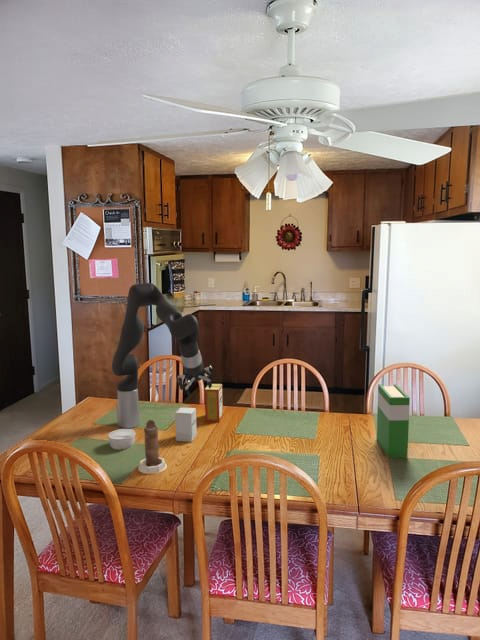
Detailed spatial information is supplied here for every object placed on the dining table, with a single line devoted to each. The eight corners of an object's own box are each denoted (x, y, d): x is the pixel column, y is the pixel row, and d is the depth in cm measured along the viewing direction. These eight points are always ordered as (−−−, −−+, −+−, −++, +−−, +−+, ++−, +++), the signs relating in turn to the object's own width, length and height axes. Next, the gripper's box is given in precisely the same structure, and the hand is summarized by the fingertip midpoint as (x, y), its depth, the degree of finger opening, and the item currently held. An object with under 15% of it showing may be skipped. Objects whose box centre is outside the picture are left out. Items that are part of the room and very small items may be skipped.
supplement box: (192, 442, 210) (191, 413, 208) (175, 441, 212) (174, 412, 210) (197, 435, 217) (196, 407, 215) (180, 434, 219) (179, 406, 217)
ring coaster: (132, 472, 184) (132, 464, 183) (151, 461, 193) (151, 453, 192) (154, 478, 179) (153, 470, 178) (172, 467, 187) (172, 459, 187)
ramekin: (112, 453, 201) (111, 440, 200) (105, 443, 211) (105, 431, 210) (139, 447, 206) (138, 435, 205) (132, 438, 216) (131, 426, 215)
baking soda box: (219, 422, 233) (218, 389, 230) (205, 421, 234) (204, 388, 231) (223, 415, 242) (222, 383, 240) (209, 414, 243) (209, 382, 241)
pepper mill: (143, 468, 185) (141, 421, 182) (152, 463, 189) (149, 417, 186) (153, 471, 182) (151, 423, 179) (161, 465, 186) (159, 419, 183)
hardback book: (376, 439, 210) (378, 384, 206) (394, 439, 210) (396, 384, 206) (388, 457, 193) (390, 397, 189) (407, 457, 192) (409, 397, 189)
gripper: (207, 349, 193) (213, 379, 203) (171, 360, 191) (179, 389, 200) (212, 361, 187) (218, 391, 197) (176, 372, 185) (184, 402, 195)
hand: (199, 390), depth 199 cm, fingers open, 8 cm apart
